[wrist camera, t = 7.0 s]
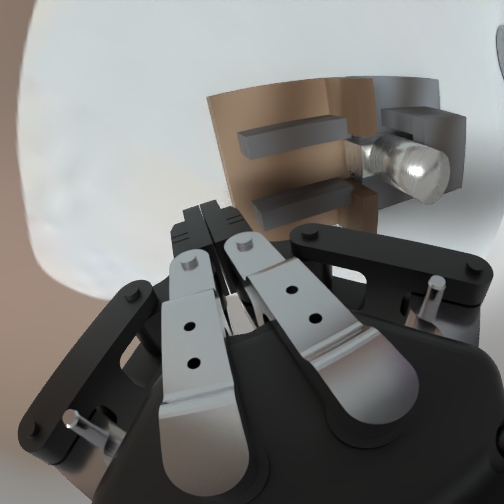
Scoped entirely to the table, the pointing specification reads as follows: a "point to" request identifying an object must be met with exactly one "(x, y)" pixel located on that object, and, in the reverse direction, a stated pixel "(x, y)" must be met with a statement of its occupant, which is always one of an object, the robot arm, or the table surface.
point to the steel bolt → (400, 164)
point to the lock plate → (324, 147)
